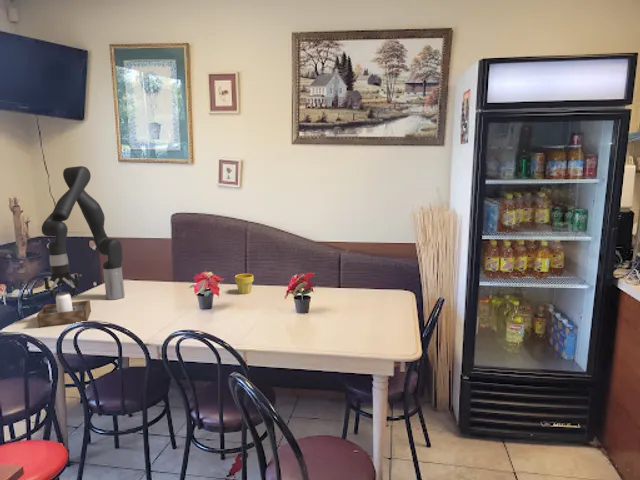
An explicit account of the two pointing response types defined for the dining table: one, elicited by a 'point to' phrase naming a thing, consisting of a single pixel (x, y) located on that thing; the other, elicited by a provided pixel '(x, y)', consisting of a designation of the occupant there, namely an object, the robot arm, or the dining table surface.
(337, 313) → the dining table surface
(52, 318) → the box
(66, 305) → the can
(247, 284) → the plant pot
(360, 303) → the dining table surface
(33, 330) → the dining table surface
